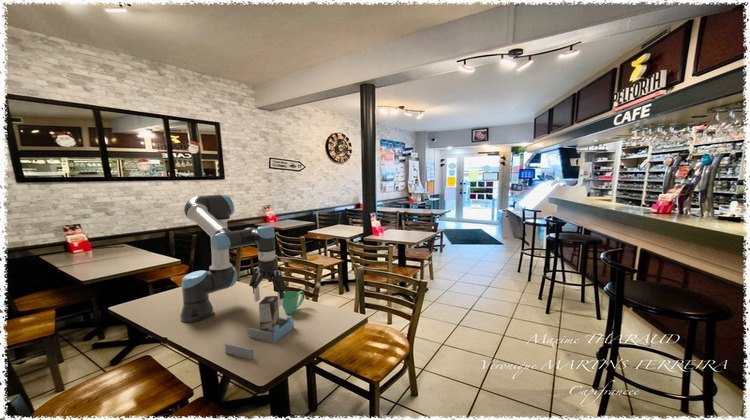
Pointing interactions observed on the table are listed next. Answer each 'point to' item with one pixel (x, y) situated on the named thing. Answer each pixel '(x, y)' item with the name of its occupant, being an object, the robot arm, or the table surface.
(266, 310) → the coffee box
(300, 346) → the table surface
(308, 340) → the table surface
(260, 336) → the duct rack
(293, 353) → the table surface
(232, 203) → the robot arm
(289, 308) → the mug
